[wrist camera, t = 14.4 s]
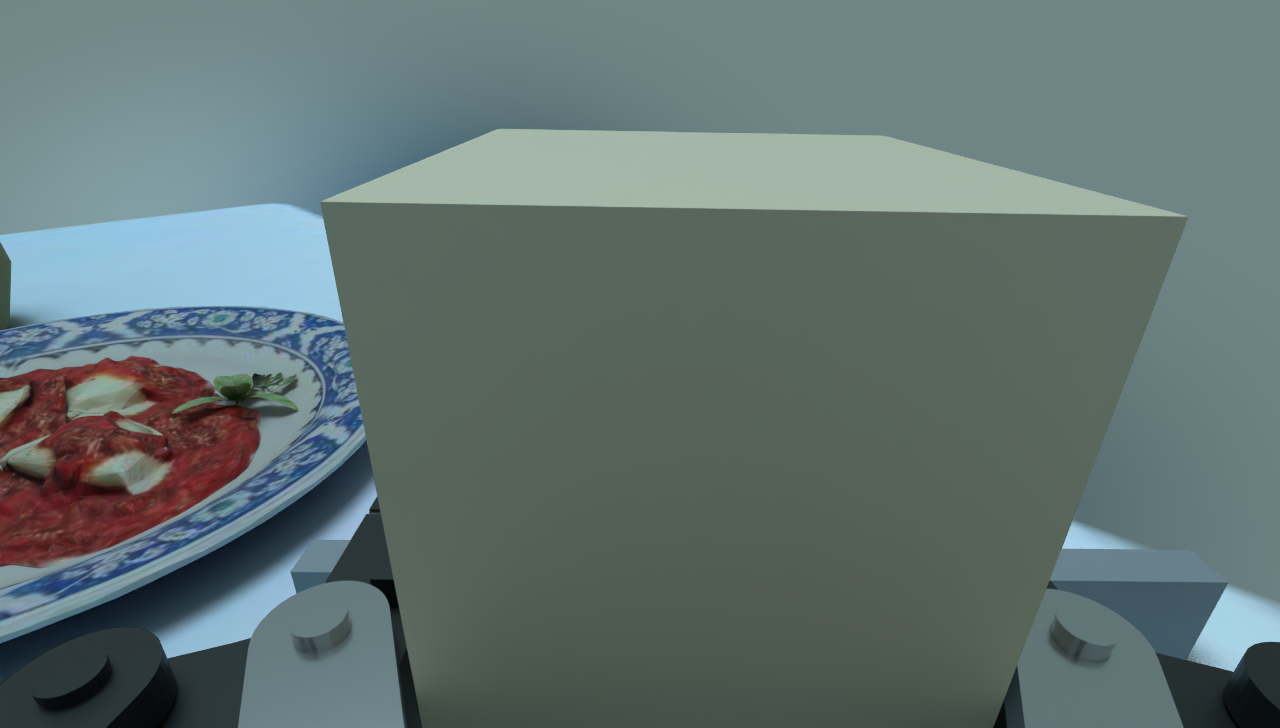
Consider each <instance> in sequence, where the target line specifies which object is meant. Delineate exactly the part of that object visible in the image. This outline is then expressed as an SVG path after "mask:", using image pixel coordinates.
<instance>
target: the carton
mask: <svg viewBox="0 0 1280 728" xmlns="http://www.w3.org/2000/svg"><path fill="white" fill-rule="evenodd" d="M320 203H321V209H322V213H323V219H324V224H325V229H326V234H327V240H328V245H329V250H330V255H331V260H332V265H333V270H334V276H335V281H336V286H337V291H338V296H339V301H340V306H341V312H342V317H343V322H344V327H345V332H346V337H347V342H348V348H349V353H350V358H351V363H352V368H353V373H354V378H355V383H356V389H357V394H358V399H359V404H360V409H361V414H362V419H363V425H364V430H365V435H366V440H367V445H368V450H369V455H370V461H371V466H372V471H373V476H374V481H375V486H376V491H377V497H378V502H379V507H380V512H381V517H382V522H383V527H384V533H385V538H386V543H387V548H388V553H389V558H390V563H391V568H392V574H393V579H394V584H395V589H396V594H397V599H398V604H399V610H400V615H401V620H402V625H403V630H404V635H405V640H406V646H407V651H408V656H409V661H410V666H411V671H412V676H413V682H414V687H415V692H416V697H417V702H418V707H419V712H420V718H421V723H422V728H993V727H994V724H995V722H996V719H997V716H998V714H999V711H1000V708H1001V706H1002V703H1003V701H1004V698H1005V695H1006V693H1007V690H1008V688H1009V685H1010V682H1011V680H1012V677H1013V675H1014V672H1015V669H1016V667H1017V664H1018V661H1019V659H1020V656H1021V654H1022V651H1023V648H1024V646H1025V643H1026V641H1027V638H1028V635H1029V633H1030V630H1031V627H1032V625H1033V622H1034V620H1035V617H1036V614H1037V612H1038V609H1039V607H1040V604H1041V601H1042V599H1043V596H1044V593H1045V591H1046V588H1047V586H1048V583H1049V580H1050V578H1051V575H1052V573H1053V570H1054V567H1055V565H1056V562H1057V559H1058V557H1059V554H1060V552H1061V549H1062V546H1063V544H1064V541H1065V539H1066V536H1067V533H1068V531H1069V528H1070V526H1071V523H1072V520H1073V518H1074V515H1075V512H1076V510H1077V507H1078V505H1079V502H1080V499H1081V496H1082V494H1083V491H1084V489H1085V486H1086V484H1087V481H1088V478H1089V476H1090V473H1091V470H1092V468H1093V465H1094V463H1095V460H1096V458H1097V455H1098V452H1099V450H1100V447H1101V444H1102V442H1103V439H1104V437H1105V434H1106V431H1107V429H1108V426H1109V423H1110V421H1111V418H1112V416H1113V413H1114V410H1115V408H1116V405H1117V403H1118V400H1119V397H1120V395H1121V392H1122V390H1123V387H1124V384H1125V381H1126V379H1127V376H1128V374H1129V371H1130V369H1131V366H1132V363H1133V361H1134V358H1135V355H1136V353H1137V350H1138V348H1139V345H1140V342H1141V340H1142V337H1143V334H1144V332H1145V329H1146V327H1147V324H1148V321H1149V319H1150V316H1151V313H1152V311H1153V309H1154V306H1155V303H1156V301H1157V298H1158V295H1159V293H1160V290H1161V288H1162V285H1163V282H1164V279H1165V277H1166V275H1167V272H1168V269H1169V267H1170V264H1171V261H1172V259H1173V256H1174V254H1175V251H1176V248H1177V246H1178V243H1179V240H1180V238H1181V235H1182V233H1183V230H1184V228H1185V225H1186V222H1187V219H1188V216H1184V215H1180V214H1177V213H1173V212H1169V211H1165V210H1162V209H1158V208H1154V207H1150V206H1147V205H1143V204H1139V203H1135V202H1131V201H1127V200H1124V199H1120V198H1116V197H1113V196H1109V195H1105V194H1101V193H1098V192H1094V191H1090V190H1086V189H1083V188H1079V187H1075V186H1071V185H1068V184H1064V183H1060V182H1056V181H1053V180H1049V179H1045V178H1041V177H1037V176H1033V175H1030V174H1026V173H1022V172H1018V171H1015V170H1011V169H1007V168H1004V167H1000V166H996V165H992V164H988V163H985V162H981V161H977V160H973V159H970V158H966V157H962V156H958V155H955V154H951V153H947V152H943V151H940V150H936V149H932V148H928V147H925V146H921V145H917V144H913V143H909V142H906V141H902V140H898V139H894V138H891V137H887V136H864V135H808V134H805V135H804V134H753V133H752V134H750V133H698V132H642V131H641V132H640V131H587V130H585V131H583V130H530V129H529V130H528V129H497V130H495V131H492V132H490V133H488V134H485V135H482V136H480V137H478V138H475V139H473V140H470V141H468V142H465V143H463V144H461V145H458V146H456V147H453V148H451V149H448V150H446V151H443V152H441V153H438V154H436V155H434V156H431V157H429V158H426V159H424V160H421V161H419V162H416V163H414V164H411V165H409V166H407V167H404V168H402V169H399V170H397V171H394V172H392V173H389V174H387V175H384V176H382V177H380V178H377V179H375V180H372V181H370V182H368V183H365V184H362V185H360V186H358V187H355V188H353V189H350V190H348V191H345V192H343V193H340V194H338V195H335V196H333V197H331V198H328V199H326V200H323V201H321V202H320Z"/></svg>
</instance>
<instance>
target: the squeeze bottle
mask: <svg viewBox="0 0 1280 728" xmlns="http://www.w3.org/2000/svg"><path fill="white" fill-rule="evenodd" d="M10 287H11V261H10V259H9V257H8V255H7V253H6V252H5V250H4V248H3V246H2V244H1V243H0V331H1V330H4V329H6V328H7V327H9V322H10Z"/></svg>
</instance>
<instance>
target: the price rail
mask: <svg viewBox="0 0 1280 728" xmlns="http://www.w3.org/2000/svg"><path fill="white" fill-rule="evenodd" d="M349 542H350V540H312V542H311V543H310V544H309V546H308V547H307V549H306V550H305V552H304V553H303V555H302V556H301V558H300V559H299V560H298V562H297V563H296V565H295V566H294V568H293V569H292V571H291V575H292V579H293V582H294V586H295V589H296V593H299V592H301V591H304V590H306V589H308V588H311V587H314V586H317V585H320V584H324V583H325V582H326V580H327V578H328V577H329V575H330V573H331V572H332V570H333V568H334V567H335V565H336V563H337V562H338V560H339V559H340V557H341V555H342V554H343V552H344V550H345V549H346V547H347V545H348V544H349ZM1050 580H1051V581H1052V583H1053V584H1054V585H1055V586H1056V588H1057V589H1058V590H1062V591H1066V592H1071V593H1074V594H1077V595H1080V596H1083V597H1086V598H1088V599H1091V600H1093V601H1095V602H1097V603H1099V604H1101V605H1103V606H1105V607H1107V608H1109V609H1110V610H1112V611H1114V612H1115V613H1117V614H1119V615H1120V616H1121V617H1123V618H1124V619H1125V620H1127V621H1128V622H1129V623H1131V624H1132V625H1133V626H1134V627H1135V628H1136V629H1137V630H1139V631H1140V633H1141V634H1142V635H1143V636H1144V637H1145V638H1146V639H1147V640H1148V642H1149V643H1150V645H1151V646H1152V647H1153V649H1154V651H1155V652H1156V653H1160V654H1163V655H1167V656H1171V657H1175V658H1179V659H1183V660H1186V659H1187V657H1188V655H1189V654H1190V652H1191V650H1192V648H1193V646H1194V645H1195V643H1196V641H1197V639H1198V637H1199V635H1200V634H1201V632H1202V630H1203V628H1204V626H1205V624H1206V623H1207V621H1208V619H1209V617H1210V615H1211V613H1212V612H1213V610H1214V608H1215V606H1216V604H1217V602H1218V601H1219V599H1220V597H1221V595H1222V593H1223V591H1224V590H1225V588H1226V586H1227V584H1228V582H1227V581H1226V580H1225V579H1224V578H1222V577H1221V576H1220V575H1219V574H1218V573H1217V572H1216V571H1214V570H1213V569H1212V568H1211V567H1210V566H1208V565H1207V564H1206V563H1205V562H1204V561H1203V560H1202V559H1201V558H1199V557H1198V556H1197V555H1196V554H1195V553H1194V552H1192V551H1191V550H1118V549H1061V552H1060V554H1059V557H1058V559H1057V562H1056V565H1055V567H1054V570H1053V573H1052V575H1051V578H1050Z"/></svg>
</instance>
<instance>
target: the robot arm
mask: <svg viewBox="0 0 1280 728" xmlns="http://www.w3.org/2000/svg"><path fill="white" fill-rule="evenodd" d="M369 510H370V512H369V514H366V516H365V517H364V519H363V521H362V522H361V524H360V526H359V527H358V529H357V531H356V532H355V534H354V536H353V537H352V539H351V540H350V542H349V544H348V545H347V547H346V549H345V550H344V552H343V554H342V555H341V557H340V559H339V560H338V562H337V563H336V565H335V567H334V568H333V570H332V572H331V573H330V575H329V577H328V578H327V580H326V582H325V583H324V584H320V585H317V586H314V587H311V588H308V589H306V590H304V591H301V592H299V593H297V594H295V595H294V596H292V597H290V598H288V599H287V600H285V601H284V602H282V603H281V604H279V605H278V606H277V607H276V608H274V609H273V610H272V611H271V612H270V613H269V614H268V615H267V616H266V617H265V618H264V619H263V620H262V621H261V622H260V624H259V625H258V627H257V628H256V629H255V631H254V633H253V635H252V637H251V638H249V639H246V640H242V641H239V642H235V643H231V644H227V645H223V646H218V647H214V648H210V649H206V650H202V651H197V652H193V653H189V654H185V655H180V656H176V657H172V658H168V659H167V657H166V655H165V652H164V650H163V648H162V645H161V643H160V640H159V639H158V638H157V637H156V636H155V635H154V634H153V633H151V632H149V631H148V630H144V629H140V628H134V627H119V628H111V629H105V630H100V631H97V632H93V633H89V634H86V635H83V636H80V637H78V638H75V639H72V640H70V641H68V642H66V643H63V644H61V645H59V646H57V647H55V648H53V649H51V650H49V651H48V652H46V653H44V654H42V655H41V656H39V657H37V658H36V659H34V660H33V661H31V662H30V663H28V664H27V665H25V666H24V667H23V668H21V669H20V670H19V671H17V672H16V673H15V674H13V675H12V676H11V677H10V678H9V679H7V680H6V681H5V682H4V683H2V684H1V685H0V728H422V723H421V718H420V712H419V707H418V702H417V697H416V692H415V687H414V682H413V676H412V671H411V666H410V661H409V656H408V651H407V646H406V640H405V635H404V630H403V625H402V620H401V615H400V610H399V604H398V599H397V594H396V589H395V584H394V579H393V574H392V568H391V563H390V558H389V553H388V548H387V543H386V538H385V533H384V527H383V522H382V517H381V512H380V507H379V502H378V497H377V498H376V499H375V501H374V503H373V504H372V506H371V508H370V509H369ZM993 728H1280V642H1262V643H1258V644H1255V645H1253V646H1251V647H1250V648H1248V649H1247V651H1246V652H1245V654H1244V656H1243V657H1242V659H1241V661H1240V662H1239V664H1238V666H1237V667H1236V669H1235V671H1234V672H1232V671H1228V670H1224V669H1220V668H1216V667H1212V666H1208V665H1204V664H1200V663H1196V662H1192V661H1187V660H1183V659H1179V658H1175V657H1171V656H1167V655H1163V654H1160V653H1156V652H1155V651H1154V649H1153V647H1152V646H1151V645H1150V643H1149V642H1148V640H1147V639H1146V638H1145V637H1144V636H1143V635H1142V634H1141V633H1140V631H1139V630H1137V629H1136V628H1135V627H1134V626H1133V625H1132V624H1131V623H1129V622H1128V621H1127V620H1125V619H1124V618H1123V617H1121V616H1120V615H1119V614H1117V613H1115V612H1114V611H1112V610H1110V609H1109V608H1107V607H1105V606H1103V605H1101V604H1099V603H1097V602H1095V601H1093V600H1091V599H1088V598H1086V597H1083V596H1080V595H1077V594H1074V593H1071V592H1066V591H1062V590H1058V589H1057V588H1056V586H1055V585H1054V584H1053V583H1052V581H1051V580H1049V583H1048V586H1047V588H1046V591H1045V593H1044V596H1043V599H1042V601H1041V604H1040V607H1039V609H1038V612H1037V614H1036V617H1035V620H1034V622H1033V625H1032V627H1031V630H1030V633H1029V635H1028V638H1027V641H1026V643H1025V646H1024V648H1023V651H1022V654H1021V656H1020V659H1019V661H1018V664H1017V667H1016V669H1015V672H1014V675H1013V677H1012V680H1011V682H1010V685H1009V688H1008V690H1007V693H1006V695H1005V698H1004V701H1003V703H1002V706H1001V708H1000V711H999V714H998V716H997V719H996V722H995V724H994V727H993Z"/></svg>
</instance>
